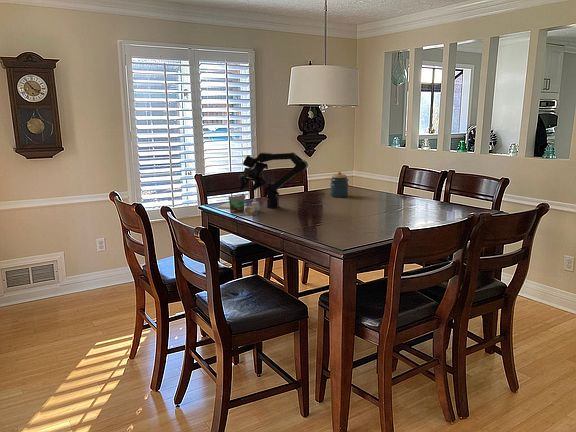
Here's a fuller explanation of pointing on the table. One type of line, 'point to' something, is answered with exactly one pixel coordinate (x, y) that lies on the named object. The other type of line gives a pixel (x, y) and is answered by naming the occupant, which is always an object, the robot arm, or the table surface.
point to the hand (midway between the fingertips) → (245, 190)
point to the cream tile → (226, 206)
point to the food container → (237, 203)
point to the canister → (339, 185)
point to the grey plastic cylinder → (255, 205)
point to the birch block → (249, 210)
